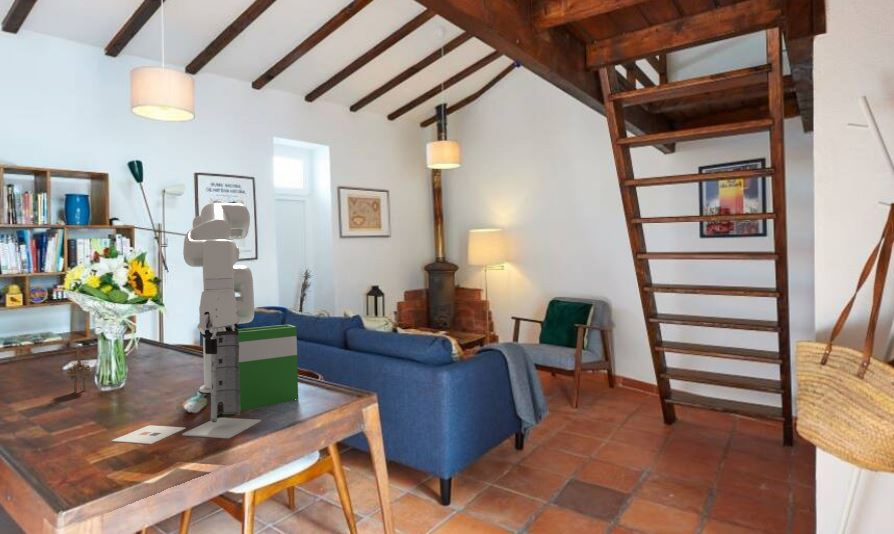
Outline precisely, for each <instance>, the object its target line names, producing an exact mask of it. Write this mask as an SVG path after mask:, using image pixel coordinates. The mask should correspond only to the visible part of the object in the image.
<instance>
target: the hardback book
mask: <svg viewBox="0 0 894 534" xmlns="http://www.w3.org/2000/svg"><path fill="white" fill-rule="evenodd" d="M297 332H298V331H297V326H296V325H292V324H280V325H270V326H260V327H259V326H257V327H247V328H238V333H239V386H240V387H239V388H240V412H241V411H242V410H243V411H246V410H253V409H259V408H263V407H268V406H273V405H278V404H283V402H284V403H288V402H287V401H290V402H292V401H291V400H295V399H298V400H299V375H298V373H299V372H298V368H299V367H298V344H297V343H298V342H297V341H298V340H297V337H298V336H297V335H298V334H297ZM295 401H296V400H295ZM243 411H242V412H243Z"/></svg>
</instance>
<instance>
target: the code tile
mask: <svg viewBox="0 0 894 534" xmlns="http://www.w3.org/2000/svg"><path fill="white" fill-rule="evenodd" d="M186 429H187V427H182V426H181V427H179V426H169V425H167V426H166V425H151V424H150V425H147V426H144V427H142V428H139V429H136V430H134V431H132V432H129V433H127V434H124V435H122V436H119V437H117V438H114V439H112V440H111V442H118V443H128V444H129V443H130V444H144V445H145V444H147V445H152V444H155V443H157V442H159V441H161V440H163V439H166V438H168V437H170V436H173V435H174V434H177V433H179V432H182V431H183V430H186Z"/></svg>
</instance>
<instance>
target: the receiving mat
mask: <svg viewBox="0 0 894 534" xmlns="http://www.w3.org/2000/svg"><path fill="white" fill-rule="evenodd" d="M261 422H262V419H253V418H252V419H251V418H236V417H234V418H233V417H223V418H218V419H217V422H212V421H211V420H209V421H207V422H205V423H203V424H200V425H199V426H196V427H194V428H191V429H189V430H187V431H185V432H183V433H181V436H186V437H187V436H188V437H200V438H201V437H203V438H214V439H215V438H216V439H231V438H233V437H235V436H236V435H239V434H240V433H242V432H244V431H246V430H247V429H249V428H251V427H253V426H255V425H257V424H258V423H261Z"/></svg>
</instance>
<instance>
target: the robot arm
mask: <svg viewBox="0 0 894 534" xmlns="http://www.w3.org/2000/svg"><path fill="white" fill-rule="evenodd" d="M250 222H251V216H250V212H249V209H248V207H247V206H246V205H244V204H243V203H237V202H236V203H235V202H234V203H233V202H231V203H229V202H212V203H211V202H210V203H207V204H206V205H205V206H203V208H202V209H201V210H200V215H197V216H195V217H194V218H193V220H192V228H191V229H189V230H188V231H187V233H186V234H185V236H184V239H183V251H182V252H183V253H182V254H183V260H184V262H185V263H186V264H187V265H188V266H190V267H194V268H202V283H203V291H202V292H201V295H200V300H199V301H200V303H199V308H198V311H199V322H198V324H197V326H196V328H197V329H198V330H199V332H200V334H201V335H202V345H203V346H202V349H203V355H202V356H203V377H204V378H203V379H204V380H203V383H204V384H202V385H200V387H199V392H200V393H205V394H211V375H212V374H211V354H217V339H215V336H216V332H220V331H235V330H234V328H238V327H239V325H240V324H249V323H251V322H252V321H253V320H254V318H255V297H254V279H253V273H252V270H251V269H250V268H249V267H248V266H246V265H235V264H237V262H238V261H239V258H240V248H239V246H238V244H237V243H236V242H235V241H233V240H243V239H245V238H246V237H248V234H249V228H250V225H251V223H250ZM236 294H238V295H239V296H236ZM232 346H234V345H232Z"/></svg>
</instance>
